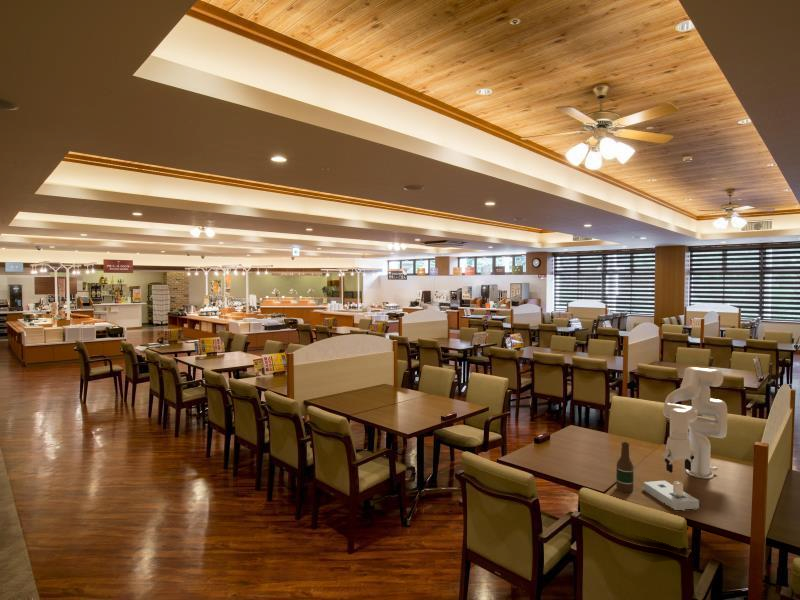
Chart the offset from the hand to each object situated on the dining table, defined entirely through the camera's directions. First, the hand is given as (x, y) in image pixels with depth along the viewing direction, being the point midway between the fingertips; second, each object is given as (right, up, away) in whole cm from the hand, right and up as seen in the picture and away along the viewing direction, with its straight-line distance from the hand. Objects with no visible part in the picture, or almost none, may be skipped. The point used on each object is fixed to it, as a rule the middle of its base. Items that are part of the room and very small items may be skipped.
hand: (678, 470), depth 219 cm
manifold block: (-1, -16, +5) cm, 16 cm away
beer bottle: (-18, -16, +15) cm, 28 cm away
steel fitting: (0, -16, 0) cm, 16 cm away
